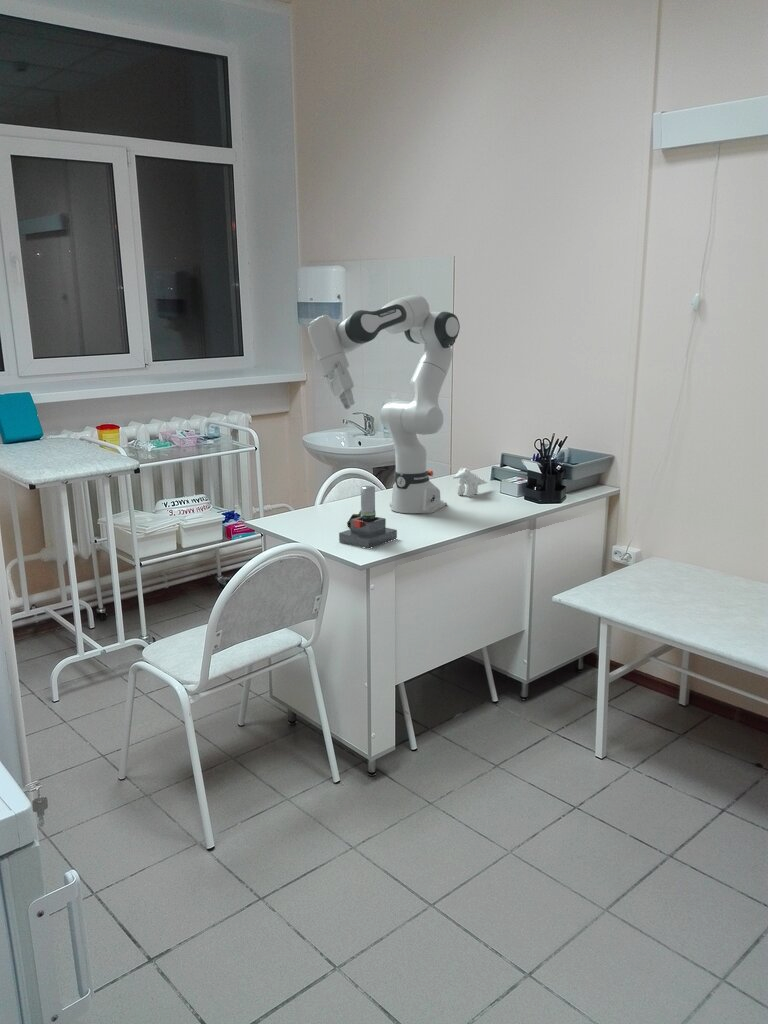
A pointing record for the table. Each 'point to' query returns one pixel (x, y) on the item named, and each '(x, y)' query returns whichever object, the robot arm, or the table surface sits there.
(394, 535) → the stand base
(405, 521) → the table surface
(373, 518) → the column
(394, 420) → the robot arm
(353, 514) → the bolt
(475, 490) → the dinosaur statue
